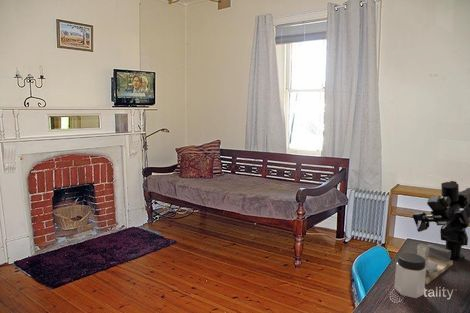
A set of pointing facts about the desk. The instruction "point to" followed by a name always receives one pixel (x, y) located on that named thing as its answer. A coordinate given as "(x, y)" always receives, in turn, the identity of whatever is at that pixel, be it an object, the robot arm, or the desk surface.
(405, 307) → the desk surface
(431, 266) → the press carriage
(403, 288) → the jar
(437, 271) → the base
